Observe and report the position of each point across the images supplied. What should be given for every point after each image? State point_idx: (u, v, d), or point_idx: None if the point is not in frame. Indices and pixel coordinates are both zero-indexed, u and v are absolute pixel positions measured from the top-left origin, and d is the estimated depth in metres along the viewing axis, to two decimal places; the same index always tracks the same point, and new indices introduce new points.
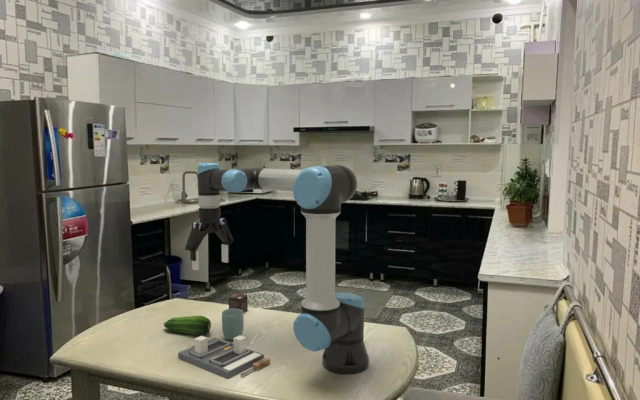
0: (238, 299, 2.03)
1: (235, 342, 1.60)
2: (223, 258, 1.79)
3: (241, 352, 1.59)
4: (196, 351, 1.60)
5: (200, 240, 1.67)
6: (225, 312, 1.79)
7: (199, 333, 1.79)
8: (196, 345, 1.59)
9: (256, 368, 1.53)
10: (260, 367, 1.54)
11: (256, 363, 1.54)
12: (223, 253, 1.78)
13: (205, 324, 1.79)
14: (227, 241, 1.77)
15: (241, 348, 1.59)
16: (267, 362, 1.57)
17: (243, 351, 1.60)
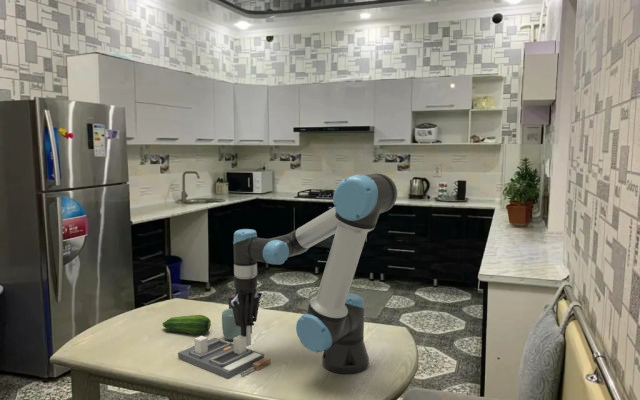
0: None
1: (235, 342, 1.60)
2: None
3: (241, 352, 1.59)
4: (196, 351, 1.60)
5: (245, 314, 1.61)
6: (225, 312, 1.79)
7: (199, 332, 1.80)
8: (196, 345, 1.59)
9: (256, 368, 1.53)
10: (260, 367, 1.54)
11: (256, 363, 1.54)
12: None
13: (205, 323, 1.80)
14: (251, 320, 1.63)
15: (241, 348, 1.59)
16: (267, 362, 1.57)
17: (243, 351, 1.60)
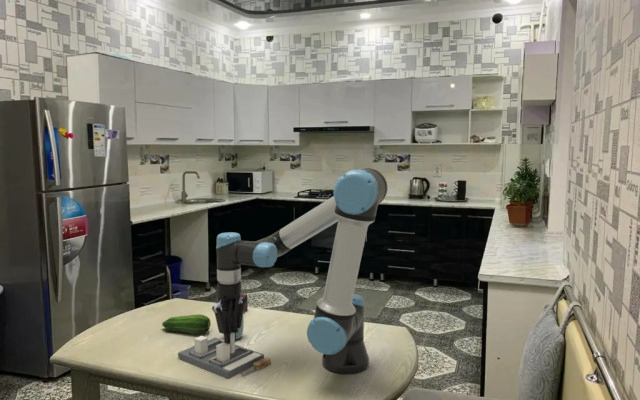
0: None
1: (218, 349, 1.54)
2: None
3: (224, 360, 1.54)
4: (196, 351, 1.60)
5: (229, 321, 1.55)
6: None
7: (199, 332, 1.80)
8: (196, 345, 1.59)
9: (257, 367, 1.53)
10: (261, 367, 1.54)
11: (257, 362, 1.54)
12: None
13: (205, 323, 1.81)
14: (235, 327, 1.57)
15: (224, 356, 1.53)
16: (268, 362, 1.57)
17: (226, 359, 1.54)
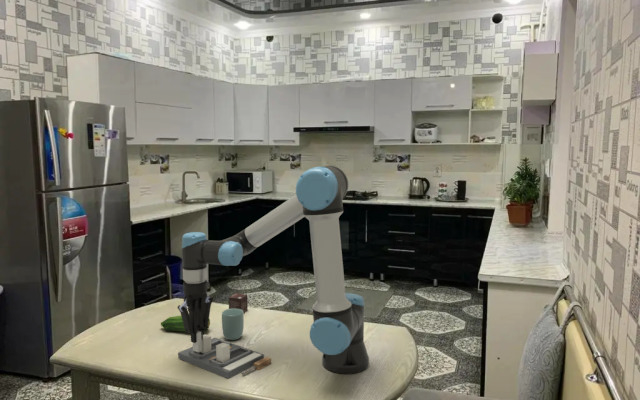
0: (238, 299, 2.03)
1: (218, 349, 1.54)
2: None
3: (224, 360, 1.53)
4: None
5: (195, 320, 1.56)
6: (225, 312, 1.79)
7: None
8: None
9: (257, 367, 1.53)
10: (261, 366, 1.54)
11: (257, 362, 1.55)
12: None
13: None
14: (201, 326, 1.58)
15: (224, 356, 1.53)
16: (268, 361, 1.57)
17: (226, 359, 1.54)
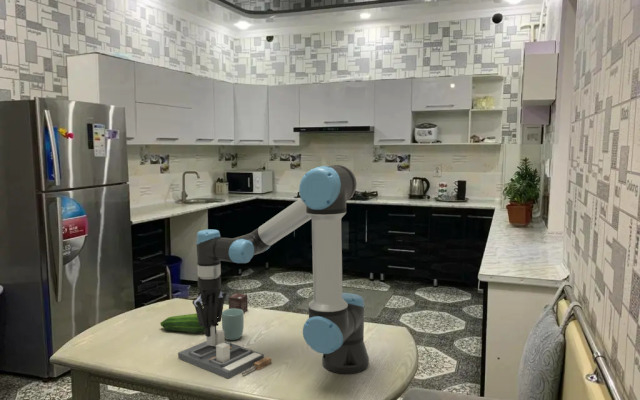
0: (238, 299, 2.03)
1: (218, 349, 1.54)
2: None
3: (224, 360, 1.53)
4: None
5: (209, 314, 1.61)
6: (225, 312, 1.79)
7: (199, 330, 1.82)
8: None
9: (257, 367, 1.54)
10: (261, 366, 1.55)
11: (257, 362, 1.55)
12: None
13: None
14: (215, 321, 1.63)
15: (224, 356, 1.53)
16: (268, 361, 1.57)
17: (226, 359, 1.54)
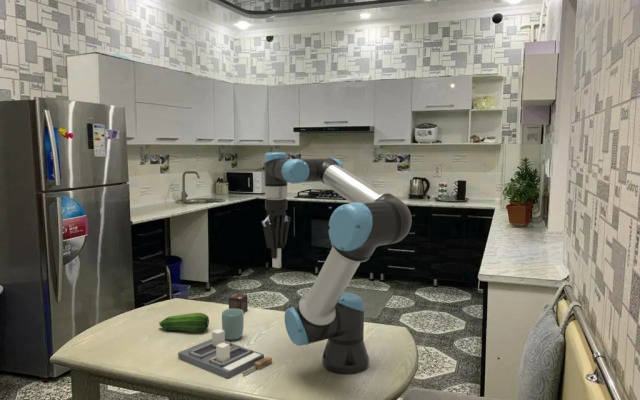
0: (238, 299, 2.03)
1: (218, 349, 1.54)
2: None
3: (224, 360, 1.53)
4: (214, 344, 1.66)
5: (276, 236, 1.63)
6: (225, 312, 1.79)
7: (199, 329, 1.83)
8: (214, 338, 1.65)
9: (258, 367, 1.54)
10: (262, 366, 1.55)
11: (258, 362, 1.55)
12: None
13: (205, 320, 1.83)
14: (281, 243, 1.65)
15: (224, 356, 1.53)
16: (269, 361, 1.57)
17: (226, 359, 1.54)
